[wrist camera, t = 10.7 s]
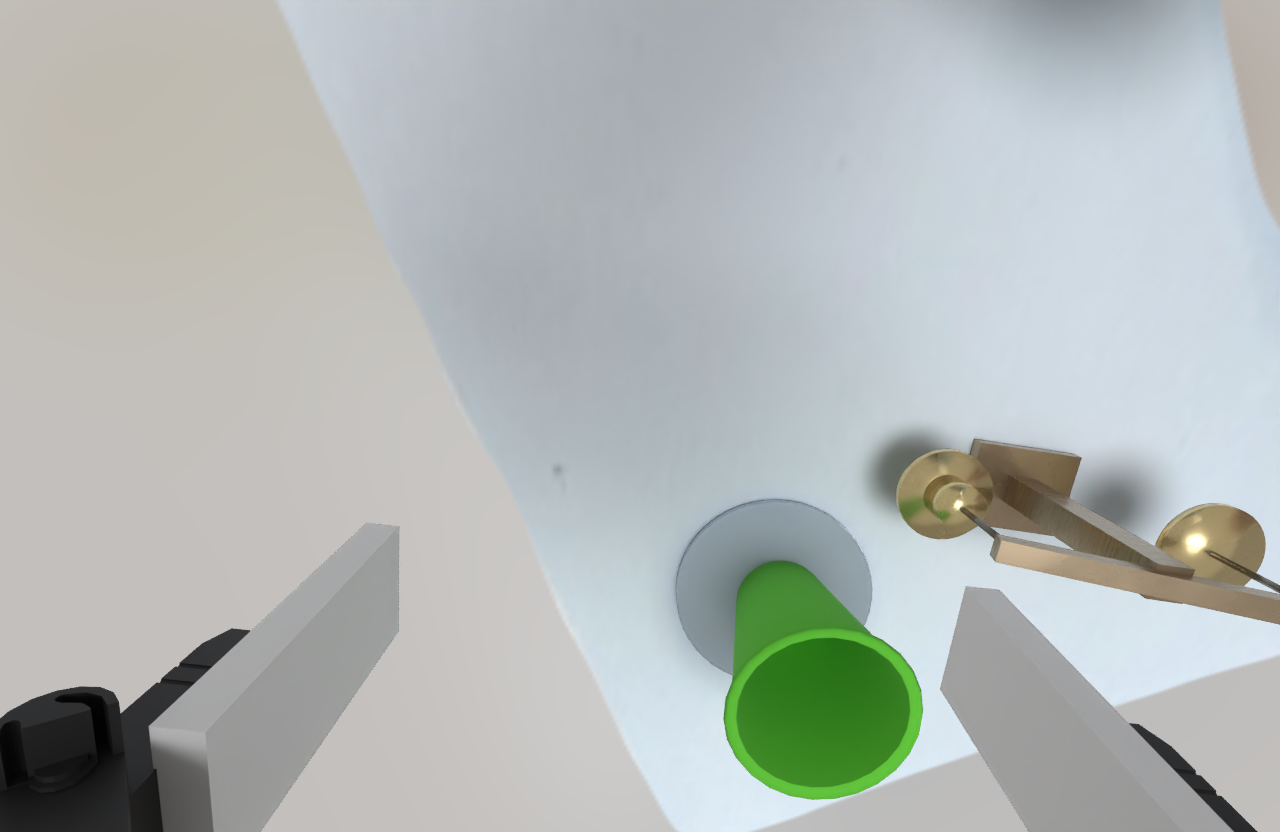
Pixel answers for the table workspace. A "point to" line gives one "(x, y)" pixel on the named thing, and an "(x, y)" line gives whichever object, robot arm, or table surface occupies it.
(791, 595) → the cup
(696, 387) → the table surface
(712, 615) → the dish
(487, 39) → the table surface
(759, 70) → the table surface
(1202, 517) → the balance
